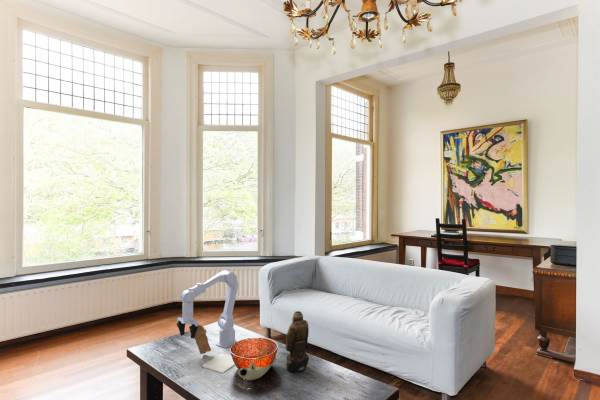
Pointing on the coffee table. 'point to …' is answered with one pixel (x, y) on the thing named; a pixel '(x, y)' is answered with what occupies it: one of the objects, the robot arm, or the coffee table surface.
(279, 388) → the coffee table surface
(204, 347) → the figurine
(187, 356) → the coffee table surface
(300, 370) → the sculpture
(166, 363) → the coffee table surface
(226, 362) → the felt mat
